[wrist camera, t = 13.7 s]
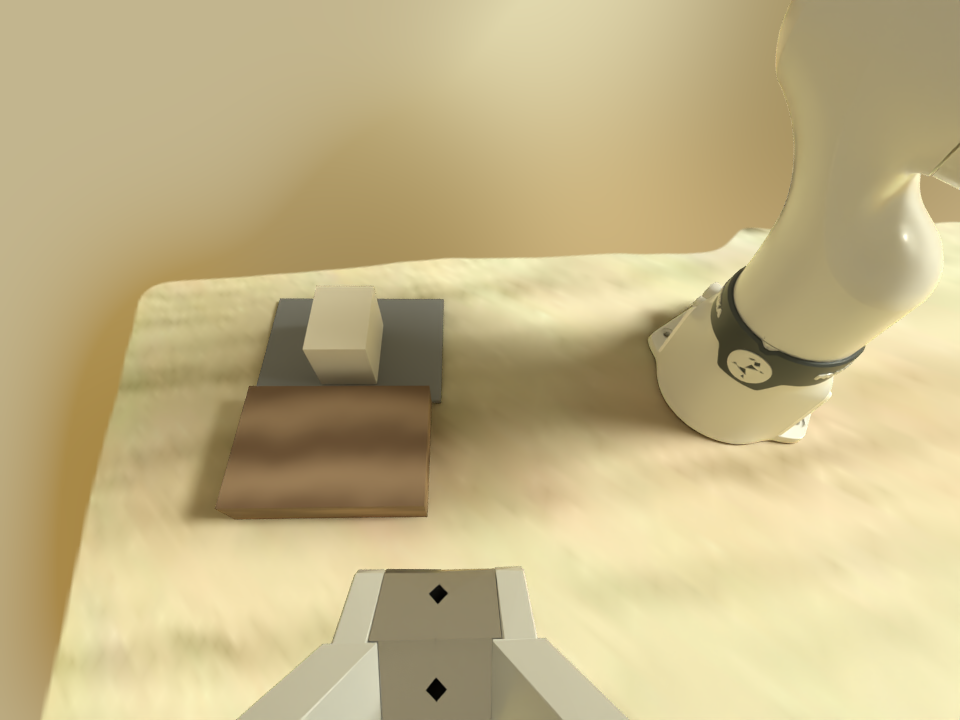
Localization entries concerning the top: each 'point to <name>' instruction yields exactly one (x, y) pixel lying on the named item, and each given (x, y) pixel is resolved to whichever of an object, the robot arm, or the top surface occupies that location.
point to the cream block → (344, 335)
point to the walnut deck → (330, 453)
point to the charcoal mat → (404, 346)
